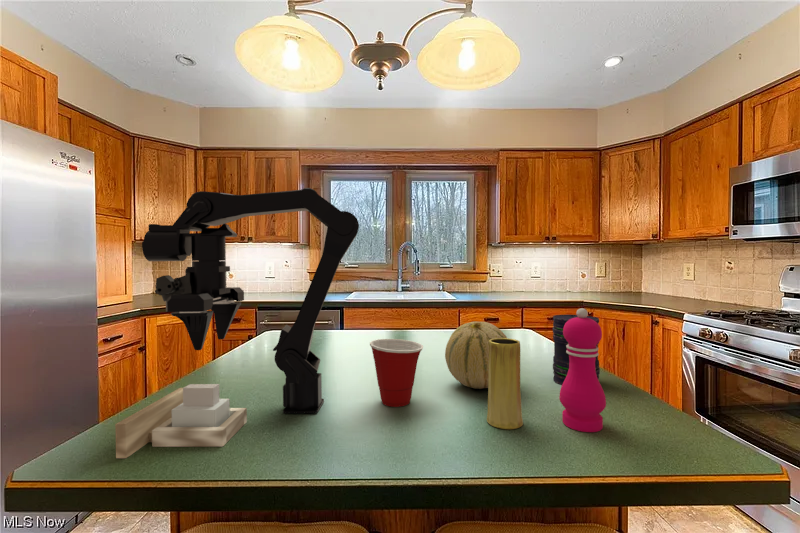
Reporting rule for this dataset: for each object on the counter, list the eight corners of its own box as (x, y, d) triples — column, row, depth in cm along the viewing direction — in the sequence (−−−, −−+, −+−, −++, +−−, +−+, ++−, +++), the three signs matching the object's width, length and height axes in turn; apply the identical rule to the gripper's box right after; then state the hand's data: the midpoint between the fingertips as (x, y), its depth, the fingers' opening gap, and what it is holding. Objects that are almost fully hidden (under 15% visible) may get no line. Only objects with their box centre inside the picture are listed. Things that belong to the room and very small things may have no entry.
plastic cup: (427, 411, 72) (426, 348, 72) (369, 413, 72) (368, 349, 72) (421, 391, 83) (420, 336, 83) (371, 393, 83) (370, 337, 82)
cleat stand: (254, 414, 72) (254, 387, 72) (211, 458, 56) (210, 423, 56) (180, 414, 72) (179, 387, 72) (116, 458, 56) (115, 424, 56)
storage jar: (606, 390, 83) (606, 321, 83) (558, 388, 85) (558, 320, 84) (591, 376, 93) (591, 314, 93) (548, 374, 94) (548, 314, 94)
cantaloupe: (497, 375, 94) (497, 314, 94) (524, 396, 80) (523, 324, 79) (438, 378, 93) (438, 316, 92) (454, 400, 78) (454, 326, 78)
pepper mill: (612, 435, 62) (612, 311, 61) (564, 432, 63) (564, 310, 63) (598, 417, 69) (598, 306, 68) (555, 414, 70) (555, 305, 70)
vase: (526, 419, 68) (526, 339, 68) (518, 433, 63) (517, 346, 63) (492, 412, 71) (492, 336, 71) (482, 425, 66) (481, 342, 66)
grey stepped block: (229, 427, 66) (229, 381, 66) (215, 440, 61) (214, 391, 61) (189, 427, 66) (188, 381, 66) (172, 441, 61) (171, 391, 61)
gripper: (190, 261, 81) (192, 335, 81) (131, 261, 62) (133, 357, 63) (244, 260, 81) (245, 334, 82) (201, 261, 63) (203, 356, 63)
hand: (210, 344), depth 72 cm, fingers open, 9 cm apart
